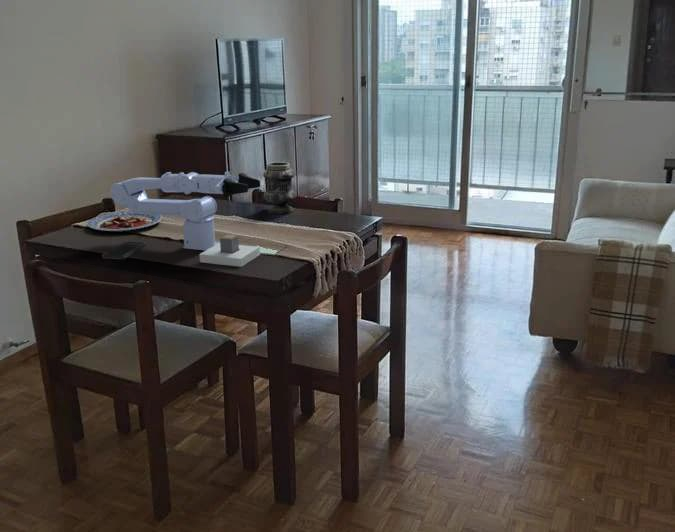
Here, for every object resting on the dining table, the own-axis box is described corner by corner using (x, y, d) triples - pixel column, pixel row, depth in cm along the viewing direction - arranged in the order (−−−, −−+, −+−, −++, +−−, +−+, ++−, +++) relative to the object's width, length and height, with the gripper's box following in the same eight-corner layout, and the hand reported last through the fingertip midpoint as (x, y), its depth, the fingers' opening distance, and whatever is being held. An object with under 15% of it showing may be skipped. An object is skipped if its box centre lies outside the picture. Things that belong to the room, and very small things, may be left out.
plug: (221, 259, 211) (219, 237, 209) (227, 255, 215) (226, 234, 213) (233, 261, 210) (231, 238, 208) (239, 257, 213) (237, 235, 211)
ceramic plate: (135, 238, 235) (134, 230, 234) (72, 232, 243) (71, 224, 242) (176, 219, 258) (175, 211, 257) (117, 214, 266) (116, 207, 265)
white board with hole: (200, 262, 209) (199, 254, 209) (220, 250, 220) (219, 242, 219) (241, 266, 205) (240, 258, 204) (259, 254, 215) (259, 247, 214)
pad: (248, 252, 218) (248, 251, 218) (261, 244, 226) (261, 243, 225) (274, 255, 215) (274, 253, 214) (286, 246, 222) (286, 245, 222)
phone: (146, 243, 227) (122, 257, 213) (147, 246, 227) (123, 260, 213) (125, 241, 229) (99, 255, 215) (125, 244, 229) (100, 258, 215)
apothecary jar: (299, 206, 272) (298, 160, 266) (290, 214, 260) (288, 166, 255) (270, 205, 274) (268, 160, 268) (260, 213, 263) (257, 166, 257)
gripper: (200, 175, 208) (240, 177, 203) (225, 167, 221) (264, 168, 216) (202, 198, 210) (242, 200, 205) (227, 189, 223) (265, 191, 218)
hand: (253, 186), depth 210 cm, fingers open, 7 cm apart
